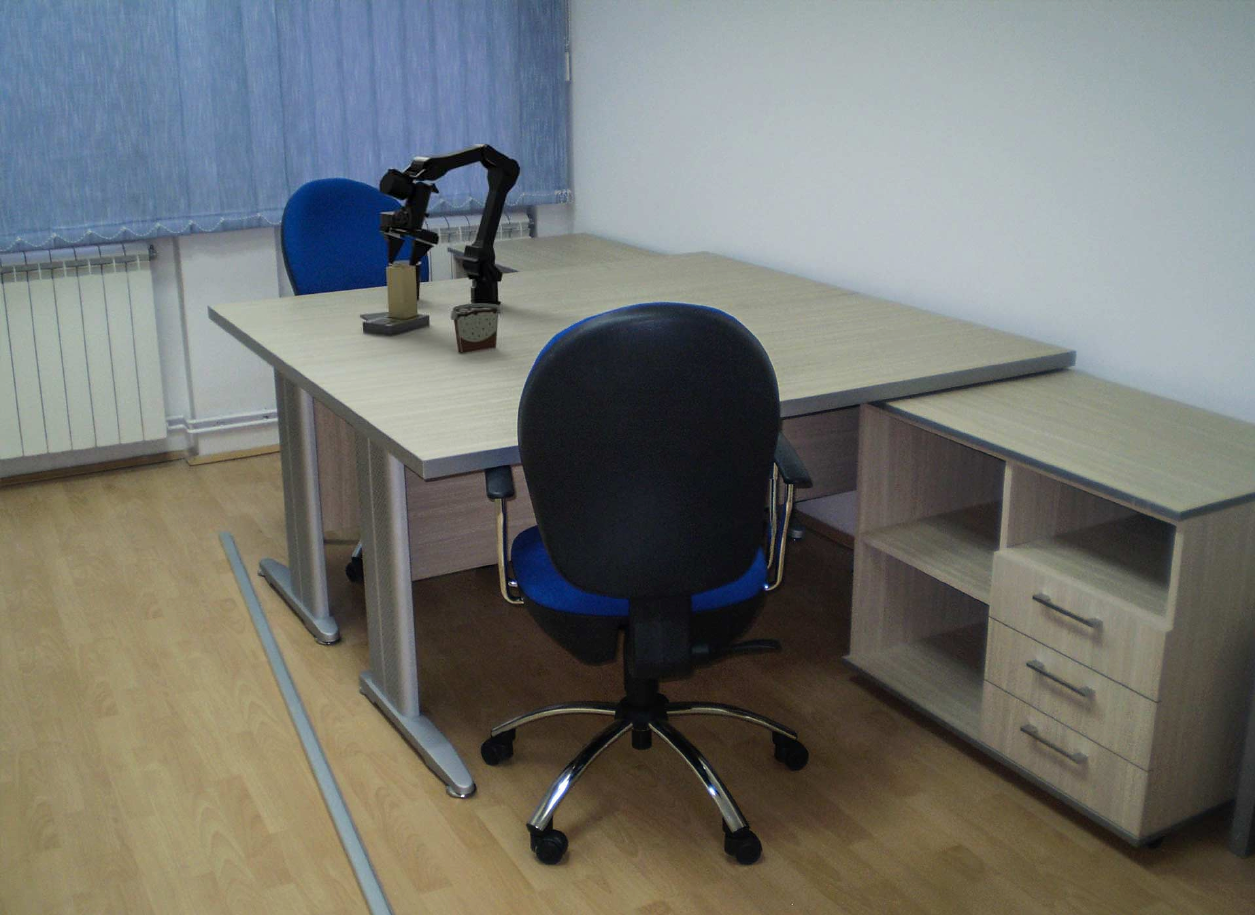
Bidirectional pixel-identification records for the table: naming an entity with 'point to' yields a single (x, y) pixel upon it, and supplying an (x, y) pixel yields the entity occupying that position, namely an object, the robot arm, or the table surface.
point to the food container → (475, 326)
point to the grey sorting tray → (394, 325)
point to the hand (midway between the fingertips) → (400, 266)
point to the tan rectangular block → (402, 292)
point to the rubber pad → (373, 315)
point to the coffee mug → (417, 270)
